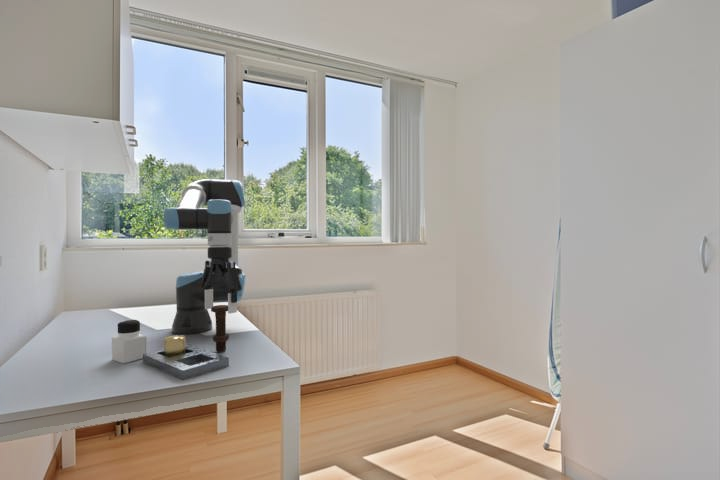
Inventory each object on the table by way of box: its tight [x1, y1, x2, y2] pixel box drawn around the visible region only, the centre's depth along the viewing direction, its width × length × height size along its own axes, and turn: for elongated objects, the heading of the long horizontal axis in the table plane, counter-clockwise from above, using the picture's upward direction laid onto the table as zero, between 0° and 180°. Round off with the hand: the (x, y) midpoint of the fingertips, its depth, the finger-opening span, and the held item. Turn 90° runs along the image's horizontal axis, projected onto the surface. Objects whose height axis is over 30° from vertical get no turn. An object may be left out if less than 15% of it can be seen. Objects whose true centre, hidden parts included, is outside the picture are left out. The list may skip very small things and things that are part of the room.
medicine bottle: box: [111, 319, 147, 364], centre depth 125 cm, size 7×7×12 cm
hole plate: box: [142, 334, 230, 381], centre depth 119 cm, size 24×14×7 cm, turn 52°
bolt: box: [210, 304, 230, 353], centre depth 132 cm, size 6×5×15 cm
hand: (220, 310), depth 132 cm, fingers open, 13 cm apart
